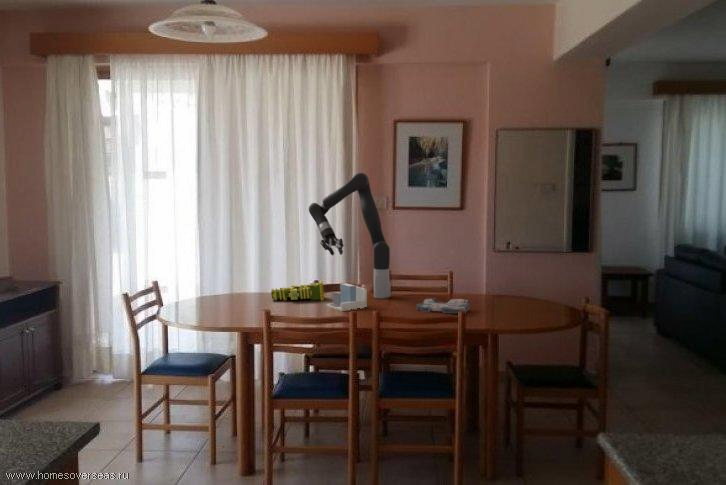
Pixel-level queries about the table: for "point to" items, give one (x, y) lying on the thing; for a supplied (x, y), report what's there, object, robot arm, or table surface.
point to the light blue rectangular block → (347, 293)
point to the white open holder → (360, 302)
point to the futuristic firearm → (444, 306)
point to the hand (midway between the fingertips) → (337, 254)
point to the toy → (299, 292)
